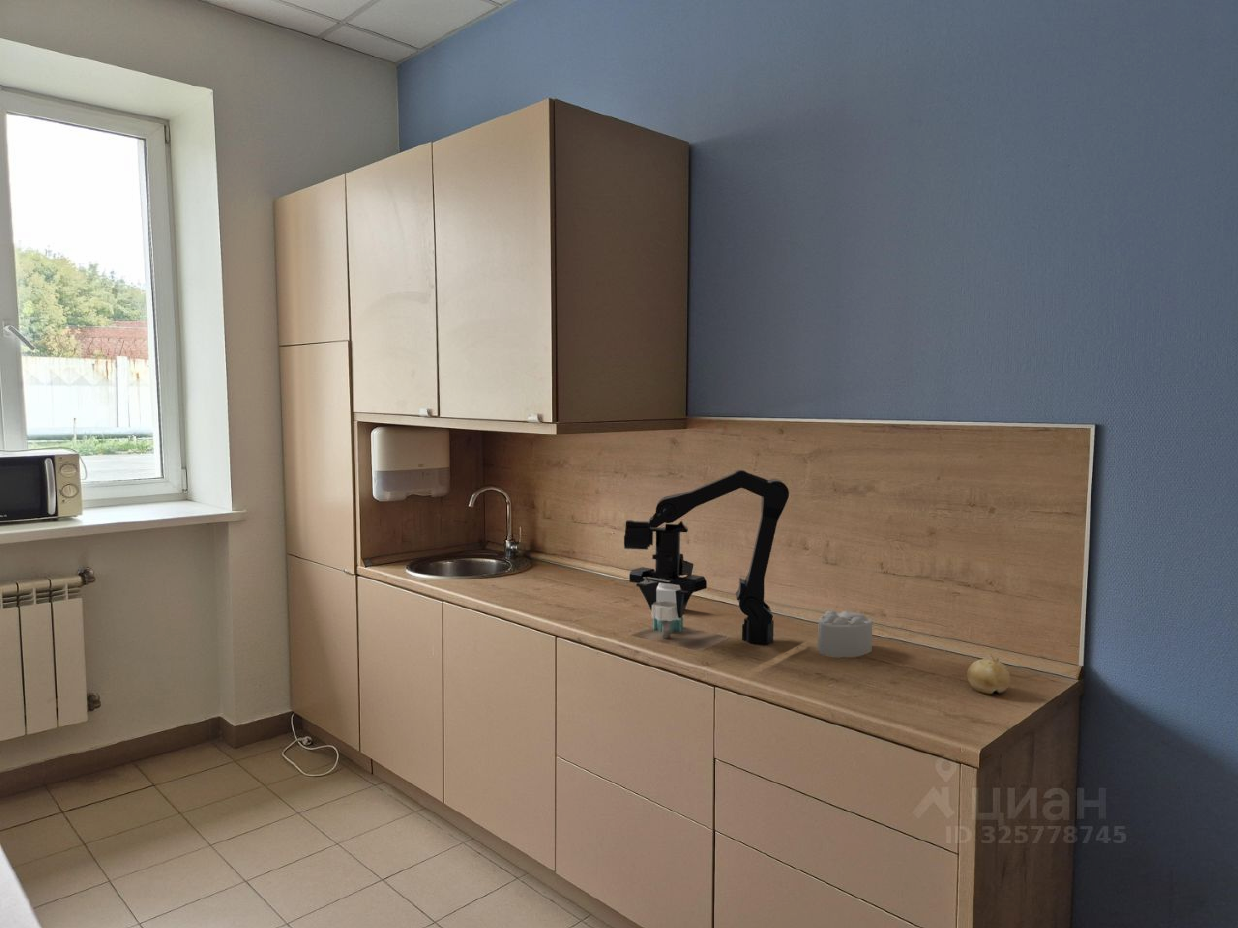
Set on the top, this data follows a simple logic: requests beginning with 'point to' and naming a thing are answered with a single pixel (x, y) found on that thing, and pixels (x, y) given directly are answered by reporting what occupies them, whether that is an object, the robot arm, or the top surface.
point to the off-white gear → (665, 611)
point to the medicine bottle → (666, 592)
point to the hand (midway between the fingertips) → (666, 614)
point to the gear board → (682, 637)
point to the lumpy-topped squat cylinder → (844, 634)
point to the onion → (988, 676)
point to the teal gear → (675, 625)
